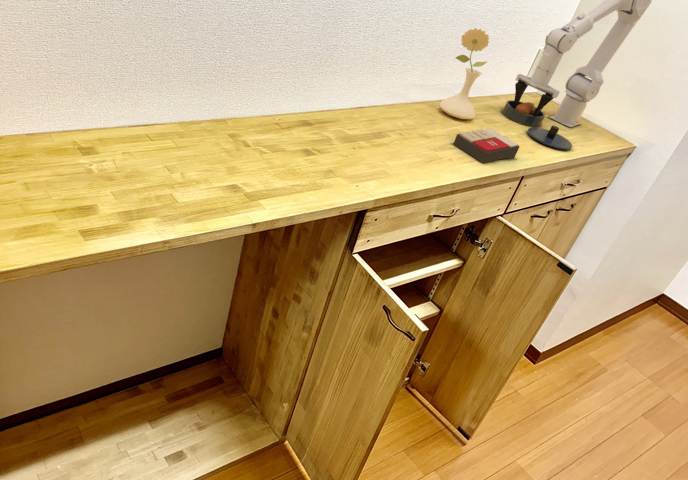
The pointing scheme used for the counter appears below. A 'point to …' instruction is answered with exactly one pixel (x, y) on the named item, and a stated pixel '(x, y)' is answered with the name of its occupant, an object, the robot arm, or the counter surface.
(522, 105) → the orange capsule
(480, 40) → the flower in vase
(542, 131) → the pot lid
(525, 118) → the pot
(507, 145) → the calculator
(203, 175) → the counter surface
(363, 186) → the counter surface
